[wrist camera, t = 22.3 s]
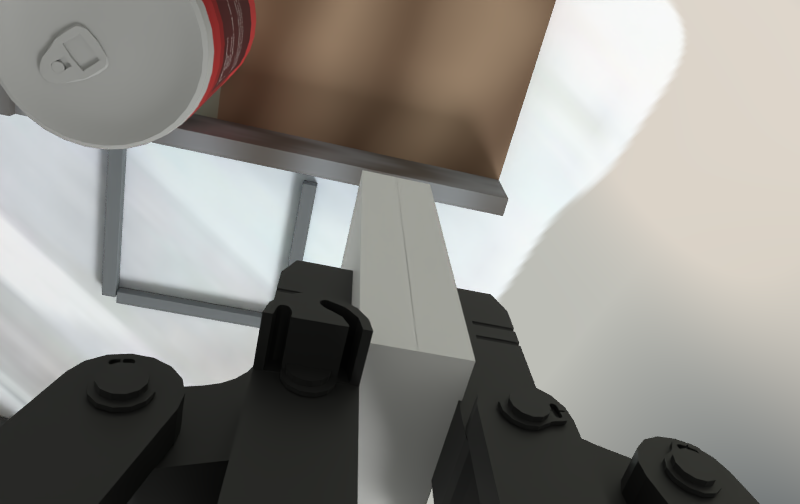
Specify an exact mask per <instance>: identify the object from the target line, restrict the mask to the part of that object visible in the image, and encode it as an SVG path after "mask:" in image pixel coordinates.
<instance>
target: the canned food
mask: <svg viewBox="0 0 800 504" xmlns="http://www.w3.org/2000/svg"><path fill="white" fill-rule="evenodd" d="M255 27H256V10H255V2H254V0H0V84H1V86H2V87H3V88H4V90H5V91H6V93H7V94H8V96H9V97H10V99H11V100H12V101H13V102H14V103H15V104H16V105H17V106H18V107H19V108H20V109H21V110H22V111H23V112H24V113H25V114H26V115H27V116H28V117H29V118H30V119H32V120H33V121H34V122H36V123H37V124H38V125H40V126H41V127H42V128H44V129H45V130H47V131H49V132H51V133H53V134H55V135H57V136H59V137H60V138H62V139H64V140H67V141H70V142H73V143H76V144H79V145H82V146H86V147H93V148H99V149H128V148H132V147H136V146H141V145H145V144H148V143H150V142H152V141H154V140H156V139H159V138H161V137H163V136H165V135H167V134H169V133H170V132H172V131H173V130H174V129H176V128H177V127H179V126H180V125H181V124H183V123H184V122H185V121H186V120H187V119H188V118H189V117H191V116H192V115H193V114H194V113H195V112H196V111H197V110H198V109H199V108H200V107H201V106H202V105H203V104H204V103H205V102H206V101H207V100H208V99H209V98H210V97H211V96H212V95H213V94H214V93H215V92H216V91H217V90H218V89H219V88H220V87H221V86H222V85H223V84H224V83H225V82H226V81H227V80H228V79H229V78H230V77H231V76H232V75H233V74H234V72H235V71H236V70H237V69H238V68H239V67H240V66H241V65H242V63H243V62H244V60H245V58H246V56H247V55H248V53H249V51H250V48H251V45H252V42H253V39H254V36H255Z"/></svg>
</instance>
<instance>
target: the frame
mask: <svg viewBox="0 0 800 504" xmlns="http://www.w3.org/2000/svg"><path fill="white" fill-rule="evenodd" d="M125 166H126V149H108V165H107V188H106V211H105V234H104V257H103V280H102V295H106V296H112V297H115V296H116V295H117V301H116V303H121V304H126V305H132V306H138V307H143V308H149V309H155V310H160V311H166V312H172V313H177V314H183V315H189V316H195V317H200V318H206V319H212V320H217V321H223V322H229V323H234V324H240V325H246V326H251V327H257V328H260V324H261V318H262V313H261V312H256V311H250V310H244V309H239V308H233V307H228V306H222V305H217V304H211V303H205V302H200V301H194V300H189V299H183V298H177V297H172V296H166V295H161V294H155V293H150V292H144V291H138V290H133V289H127V288H122V287H120V288H119V273H120V256H121V238H122V220H123V202H124V184H125ZM316 187H317V183H315V182H311V181H306V180H304V182H303V186H302V192H301V197H300V203H299V208H298V214H297V219H296V225H295V230H294V236H293V241H292V247H291V252H290V258H289V263H288V266H290V265H291V264H292V263H294V262H295V261H296V260H299V261H302V260H303V255H304V250H305V245H306V240H307V234H308V229H309V224H310V219H311V214H312V208H313V203H314V198H315V193H316Z"/></svg>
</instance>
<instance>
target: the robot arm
mask: <svg viewBox="0 0 800 504" xmlns="http://www.w3.org/2000/svg"><path fill="white" fill-rule="evenodd" d="M513 329H514V328H513V325H512V323H511V320H510V317H509V315H508V312H507V311H506V310H505V309H504V307H503V306H501V304H500V303H499V302H498V301H497V300H496V299H495V298H494V297H493V296H492V295H491V294H486V293H480V292H475V291H470V290H464V289H459V288H457V287H456V284H455V280H454V276H453V272H452V268H451V264H450V260H449V256H448V252H447V249H446V245H445V241H444V237H443V233H442V229H441V225H440V221H439V217H438V214H437V210H436V206H435V202H434V198H433V194H432V190H431V186H430V184H426V183H421V182H416V181H412V180H407V179H402V178H397V177H393V176H388V175H383V174H379V173H374V172H369V171H364V170H362V175H361V179H360V184H359V188H358V193H357V198H356V202H355V207H354V211H353V216H352V220H351V225H350V229H349V234H348V238H347V243H346V247H345V252H344V256H343V261H342V265H341V268H336V267H331V266H326V265H320V264H315V263H310V262H304V261H299V260H296V261H295V262H294V263H292V264H291V265H290V266H288V267H287V268H286V269H284V270H283V271H282V272H281V275H280V279H279V283H278V287H277V291H276V295H275V298H274V300H272V301H270V302H269V303H268V305H267V306H266V308H265V309H264V311H263V312H262V318H261V324H260V330H259V336H258V341H257V347H256V353H255V359H254V365H253V367H252V368H251V369H250V370H249V371H248V372H247V373H245V374H243V375H241V376H239V377H238V378H236V379H233V380H230V381H227V382H223V383H219V384H212V385H205V386H188V387H184V385H183V379H182V378H181V377H180V376H179V375H178V373H177V372H176V371H175V370H174V369H173V368H172V367H171V366H169V365H167V364H165V363H163V362H161V361H159V360H157V359H155V358H151V357H146V356H141V355H135V354H114V355H105V356H101V357H97V358H94V359H90V360H86V361H84V362H82V363H80V364H78V365H77V366H75V367H73V368H72V369H70V370H68V371H66V372H65V373H64V374H63V375H62V376H60V377H59V378H58V379H57V380H56V381H54V382H53V383H52V384H51V385H50V386H48V387H47V388H46V389H45V390H44V391H42V392H41V393H40V394H39V395H38V396H36V397H35V398H34V399H33V400H32V401H30V402H29V403H28V404H27V405H26V406H24V407H23V408H22V409H21V410H20V411H18V412H17V413H16V414H15V415H14V416H12V417H11V418H10V419H9V420H8V419H5V418H2V417H0V504H426V503H427V500H428V498H429V495H430V492H431V489H433V498H434V504H759V503H758V502H757V500H756V499H755V498H754V497H753V496H752V495H751V494H750V493H749V492H748V491H747V490H746V489H745V488H744V487H743V485H742V484H741V483H740V482H739V481H738V480H737V479H736V478H735V477H734V476H733V475H732V474H731V473H730V472H729V471H728V470H727V469H726V468H725V467H724V466H722V465H721V464H720V463H719V462H718V461H716V459H714V458H713V457H711V456H710V455H708V454H706V453H705V452H703V451H701V450H700V449H699V448H698V447H696V446H693V445H691V444H689V443H685V442H682V441H679V440H676V439H672V438H664V437H654V438H649V439H645V440H644V441H643V442H642V443H641V444H640V445H639V447H638V448H637V450H636V452H635V454H634V456H633V457H632V459H631V458H629V457H626V456H623V455H621V454H618V453H616V452H613V451H610V450H607V449H605V448H602V447H600V446H597V445H595V444H593V443H590V442H588V441H586V440H584V439H582V438H581V437H580V434H579V432H578V429H577V427H576V425H575V423H574V420H573V419H572V418H571V416H570V414H569V413H568V411H567V410H566V408H565V407H564V406H563V405H561V404H560V403H559V402H558V401H557V400H555V399H554V398H553V397H552V396H550V395H549V394H547V393H545V392H543V391H541V390H539V389H537V388H536V386H535V384H534V381H533V378H532V376H531V373H530V370H529V368H528V365H527V362H526V360H525V357H524V354H523V352H522V349H521V347H520V346H519V341H518V339H517V336H516V333H515V332H513Z"/></svg>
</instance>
